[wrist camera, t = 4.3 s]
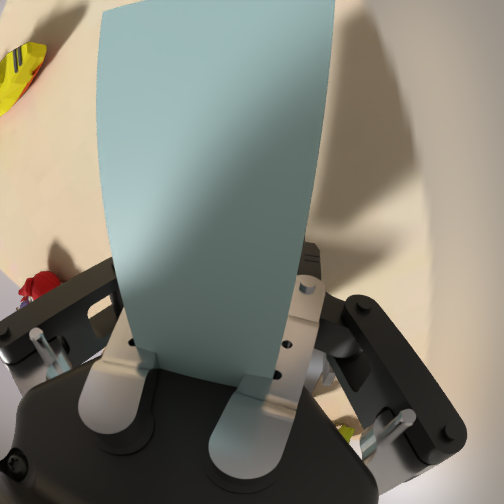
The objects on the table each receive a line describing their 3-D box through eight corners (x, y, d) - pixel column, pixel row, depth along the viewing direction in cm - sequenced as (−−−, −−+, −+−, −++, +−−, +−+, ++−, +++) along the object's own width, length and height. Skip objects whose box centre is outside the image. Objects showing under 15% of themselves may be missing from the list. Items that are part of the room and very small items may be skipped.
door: (250, 70, 12) (102, 11, 2) (332, 80, 12) (432, 25, 2) (233, 309, 21) (184, 463, 11) (290, 318, 20) (269, 479, 10)
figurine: (18, 277, 35) (52, 248, 30) (51, 309, 39) (94, 291, 34) (0, 306, 30) (28, 284, 25) (36, 338, 35) (76, 328, 30)
